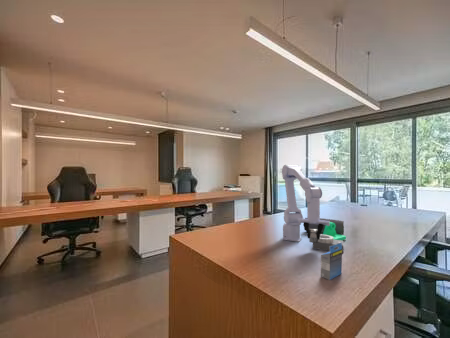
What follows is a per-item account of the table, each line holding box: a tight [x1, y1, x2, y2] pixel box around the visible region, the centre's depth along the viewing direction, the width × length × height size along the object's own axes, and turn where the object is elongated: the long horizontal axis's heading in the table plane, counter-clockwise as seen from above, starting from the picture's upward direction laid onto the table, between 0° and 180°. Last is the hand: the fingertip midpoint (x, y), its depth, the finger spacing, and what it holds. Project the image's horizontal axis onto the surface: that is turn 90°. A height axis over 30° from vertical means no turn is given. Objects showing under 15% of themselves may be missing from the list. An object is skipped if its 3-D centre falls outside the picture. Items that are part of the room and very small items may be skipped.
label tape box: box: [320, 243, 343, 281], centre depth 85 cm, size 9×4×12 cm, turn 126°
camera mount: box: [323, 222, 347, 242], centre depth 130 cm, size 12×8×10 cm, turn 121°
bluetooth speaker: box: [303, 217, 345, 236], centre depth 143 cm, size 23×9×10 cm, turn 61°
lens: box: [308, 229, 318, 244], centre depth 112 cm, size 4×4×6 cm
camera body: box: [312, 234, 344, 254], centre depth 117 cm, size 14×9×6 cm, turn 62°
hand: (313, 238), depth 112 cm, fingers closed on lens, 4 cm apart
